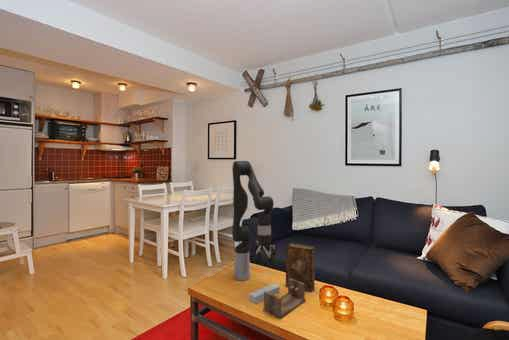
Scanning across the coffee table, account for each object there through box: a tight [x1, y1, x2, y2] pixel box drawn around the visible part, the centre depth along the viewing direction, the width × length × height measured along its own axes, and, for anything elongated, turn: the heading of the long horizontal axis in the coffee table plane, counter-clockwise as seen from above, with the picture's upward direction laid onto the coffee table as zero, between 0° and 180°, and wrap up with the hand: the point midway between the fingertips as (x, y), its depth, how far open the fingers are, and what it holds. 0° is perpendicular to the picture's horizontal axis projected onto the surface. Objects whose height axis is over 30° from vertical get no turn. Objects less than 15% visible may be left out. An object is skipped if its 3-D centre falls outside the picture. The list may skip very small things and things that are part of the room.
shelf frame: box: [263, 278, 306, 320], centre depth 139 cm, size 11×22×10 cm, turn 137°
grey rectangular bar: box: [248, 283, 280, 305], centre depth 149 cm, size 5×18×4 cm, turn 129°
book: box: [285, 242, 316, 293], centre depth 158 cm, size 16×6×25 cm, turn 62°
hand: (264, 261), depth 148 cm, fingers open, 8 cm apart
